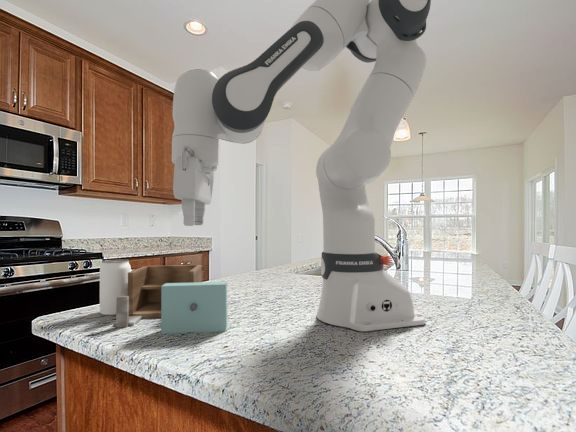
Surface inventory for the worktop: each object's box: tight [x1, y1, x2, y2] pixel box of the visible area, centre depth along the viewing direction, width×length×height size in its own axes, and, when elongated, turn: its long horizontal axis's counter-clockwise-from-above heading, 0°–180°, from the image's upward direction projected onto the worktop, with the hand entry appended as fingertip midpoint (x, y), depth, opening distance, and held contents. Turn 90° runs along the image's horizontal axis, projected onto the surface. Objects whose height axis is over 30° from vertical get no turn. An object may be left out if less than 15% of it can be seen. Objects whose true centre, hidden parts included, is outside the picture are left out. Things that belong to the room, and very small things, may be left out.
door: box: [160, 281, 228, 335], centre depth 63 cm, size 12×4×9 cm, turn 96°
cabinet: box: [112, 264, 203, 328], centre depth 74 cm, size 16×17×10 cm
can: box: [99, 258, 132, 317], centre depth 76 cm, size 6×6×12 cm
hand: (194, 225), depth 64 cm, fingers open, 8 cm apart
